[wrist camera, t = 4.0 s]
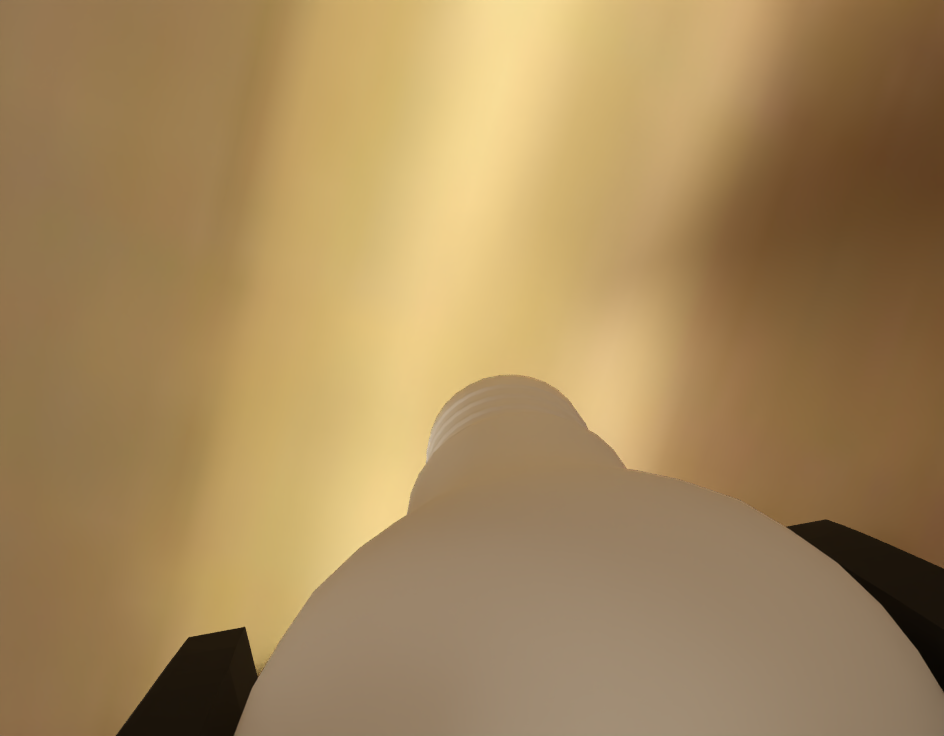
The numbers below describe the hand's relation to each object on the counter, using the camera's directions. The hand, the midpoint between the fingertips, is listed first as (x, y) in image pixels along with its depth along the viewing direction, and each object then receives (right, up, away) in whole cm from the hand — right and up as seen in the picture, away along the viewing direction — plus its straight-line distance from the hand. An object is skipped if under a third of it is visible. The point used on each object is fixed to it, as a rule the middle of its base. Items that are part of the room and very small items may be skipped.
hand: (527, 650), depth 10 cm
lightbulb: (0, +2, +5) cm, 5 cm away
